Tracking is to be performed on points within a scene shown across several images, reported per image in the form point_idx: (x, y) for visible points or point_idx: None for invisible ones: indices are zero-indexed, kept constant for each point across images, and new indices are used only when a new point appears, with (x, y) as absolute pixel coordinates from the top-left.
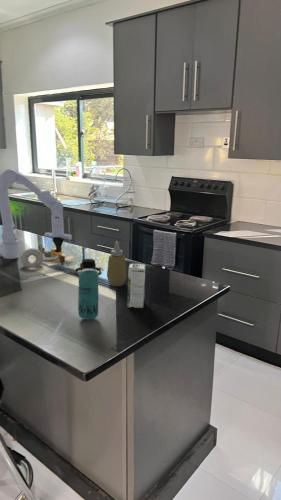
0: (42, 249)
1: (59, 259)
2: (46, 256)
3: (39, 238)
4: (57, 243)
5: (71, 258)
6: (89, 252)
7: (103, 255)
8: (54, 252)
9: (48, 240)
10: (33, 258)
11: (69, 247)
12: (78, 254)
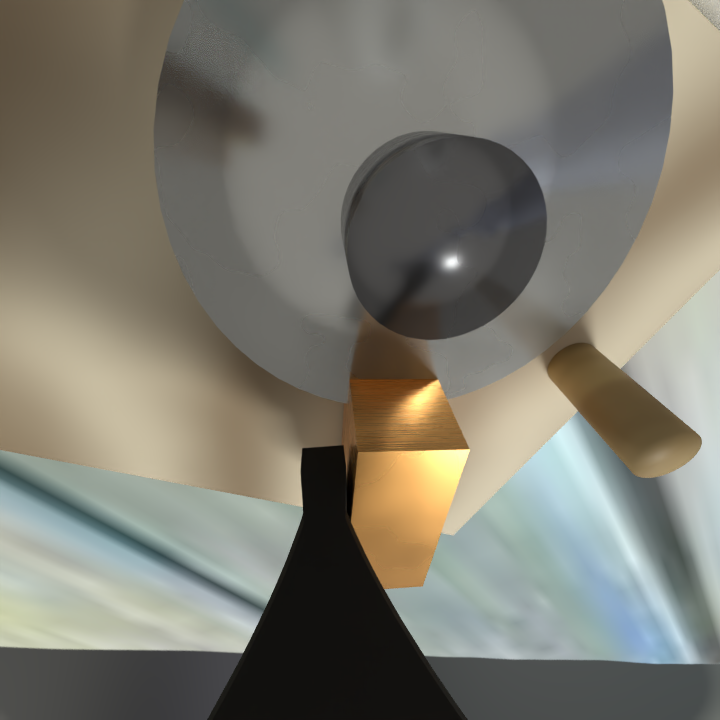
0: (655, 410)
1: (161, 268)
2: (407, 133)
3: (714, 647)
4: (276, 668)
5: (53, 408)
6: (223, 625)
7: (45, 626)
8: (358, 407)
9: (648, 648)
10: (717, 64)
11: (449, 630)
12: (259, 569)
